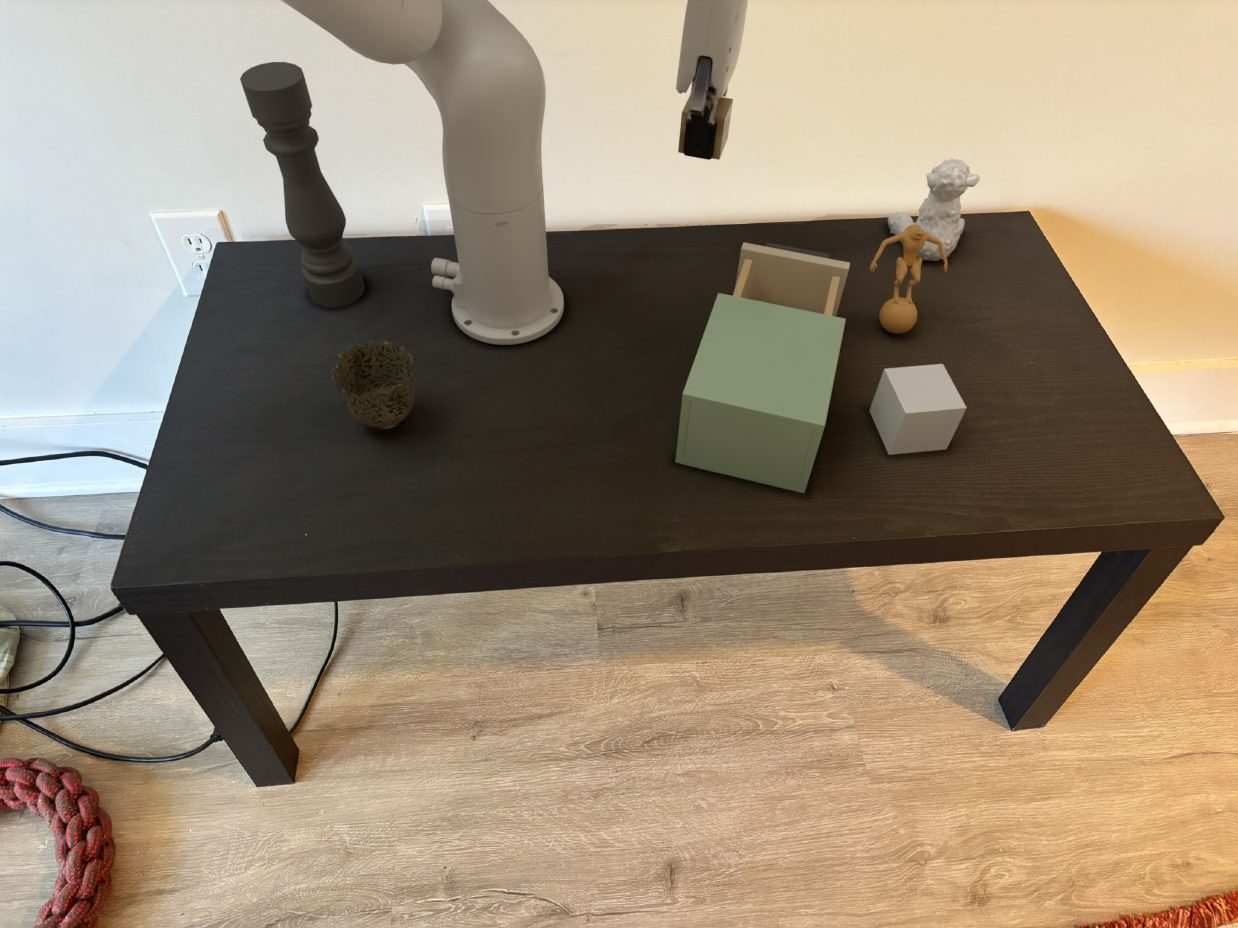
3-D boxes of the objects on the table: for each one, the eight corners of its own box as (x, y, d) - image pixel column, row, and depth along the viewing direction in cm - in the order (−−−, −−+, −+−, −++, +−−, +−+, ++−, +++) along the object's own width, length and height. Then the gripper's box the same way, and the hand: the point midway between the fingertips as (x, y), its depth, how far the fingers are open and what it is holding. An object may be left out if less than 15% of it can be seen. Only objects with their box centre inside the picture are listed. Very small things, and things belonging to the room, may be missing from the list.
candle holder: (375, 285, 98) (320, 72, 79) (337, 314, 95) (270, 99, 76) (336, 267, 100) (273, 54, 81) (298, 295, 97) (222, 80, 78)
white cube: (924, 405, 87) (943, 363, 83) (946, 449, 84) (967, 407, 79) (868, 410, 87) (884, 368, 82) (888, 455, 83) (905, 413, 78)
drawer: (742, 276, 99) (751, 219, 93) (839, 295, 97) (855, 238, 91) (708, 379, 88) (715, 322, 82) (817, 403, 86) (833, 346, 80)
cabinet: (708, 363, 91) (718, 292, 83) (825, 388, 89) (846, 318, 81) (675, 462, 82) (682, 393, 75) (804, 493, 80) (825, 425, 72)
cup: (410, 457, 82) (394, 400, 76) (338, 445, 83) (317, 387, 77) (436, 402, 86) (423, 344, 80) (368, 391, 87) (350, 333, 81)
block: (677, 152, 92) (681, 112, 88) (687, 132, 94) (691, 91, 91) (719, 160, 91) (724, 119, 87) (727, 139, 94) (733, 98, 90)
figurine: (860, 341, 94) (888, 251, 84) (850, 305, 97) (876, 215, 88) (934, 341, 94) (971, 251, 84) (921, 306, 98) (955, 216, 88)
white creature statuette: (960, 228, 107) (994, 140, 98) (972, 270, 102) (1009, 182, 93) (885, 223, 108) (912, 135, 98) (893, 265, 102) (922, 176, 93)
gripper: (704, -75, 84) (686, 102, 98) (663, -10, 74) (650, 178, 88) (778, -65, 83) (750, 113, 97) (748, 2, 73) (721, 191, 87)
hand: (703, 142), depth 92 cm, fingers closed on block, 4 cm apart
